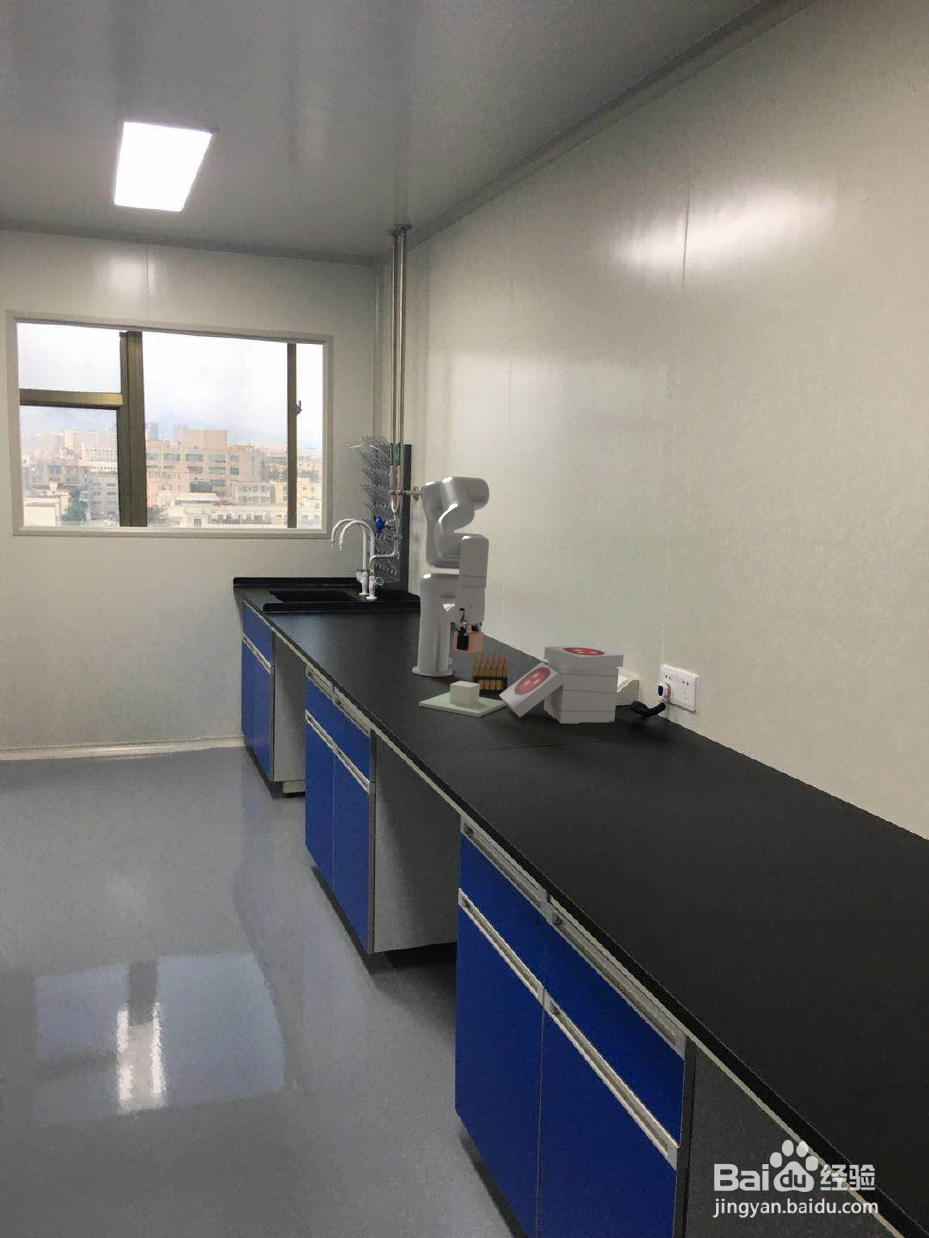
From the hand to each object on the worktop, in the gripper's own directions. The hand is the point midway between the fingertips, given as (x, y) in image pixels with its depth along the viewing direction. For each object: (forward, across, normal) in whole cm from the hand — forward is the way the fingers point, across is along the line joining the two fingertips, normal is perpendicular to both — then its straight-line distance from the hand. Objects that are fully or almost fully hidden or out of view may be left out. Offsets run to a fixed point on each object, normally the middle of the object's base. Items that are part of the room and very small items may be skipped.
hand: (467, 647), depth 266 cm
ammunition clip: (+16, -20, -2) cm, 26 cm away
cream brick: (+15, 0, 0) cm, 15 cm away
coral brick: (+1, 0, 0) cm, 1 cm away
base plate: (+16, 0, 0) cm, 16 cm away
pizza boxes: (+16, -7, +25) cm, 31 cm away
